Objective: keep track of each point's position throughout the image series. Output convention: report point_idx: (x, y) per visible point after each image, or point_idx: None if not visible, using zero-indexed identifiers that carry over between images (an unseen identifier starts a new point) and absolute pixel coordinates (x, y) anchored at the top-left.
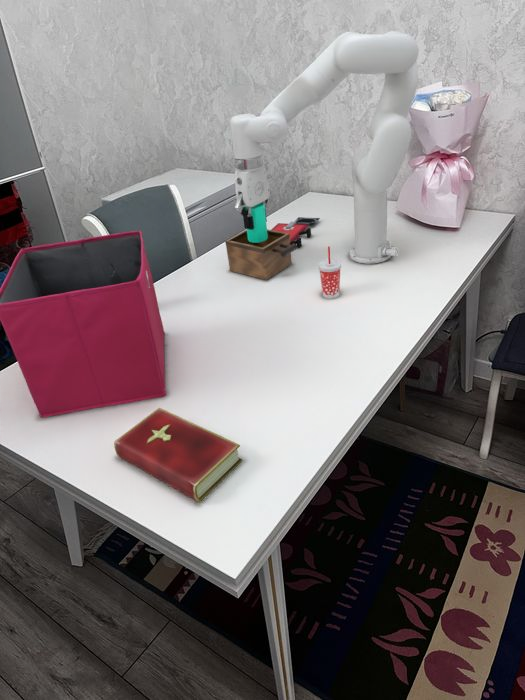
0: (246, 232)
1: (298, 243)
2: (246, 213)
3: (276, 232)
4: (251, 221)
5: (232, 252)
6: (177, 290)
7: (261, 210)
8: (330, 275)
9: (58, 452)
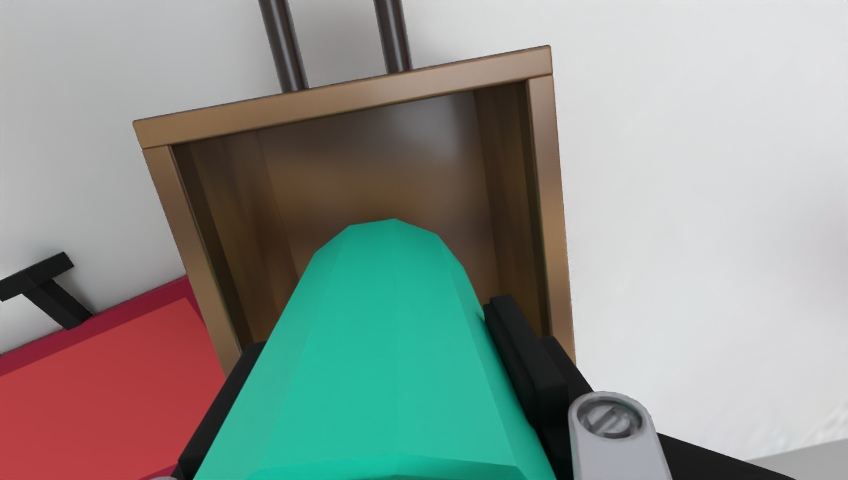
0: None
1: (44, 266)
2: (670, 463)
3: (205, 253)
4: (540, 346)
5: None
6: (772, 349)
7: (357, 390)
8: None
9: None
